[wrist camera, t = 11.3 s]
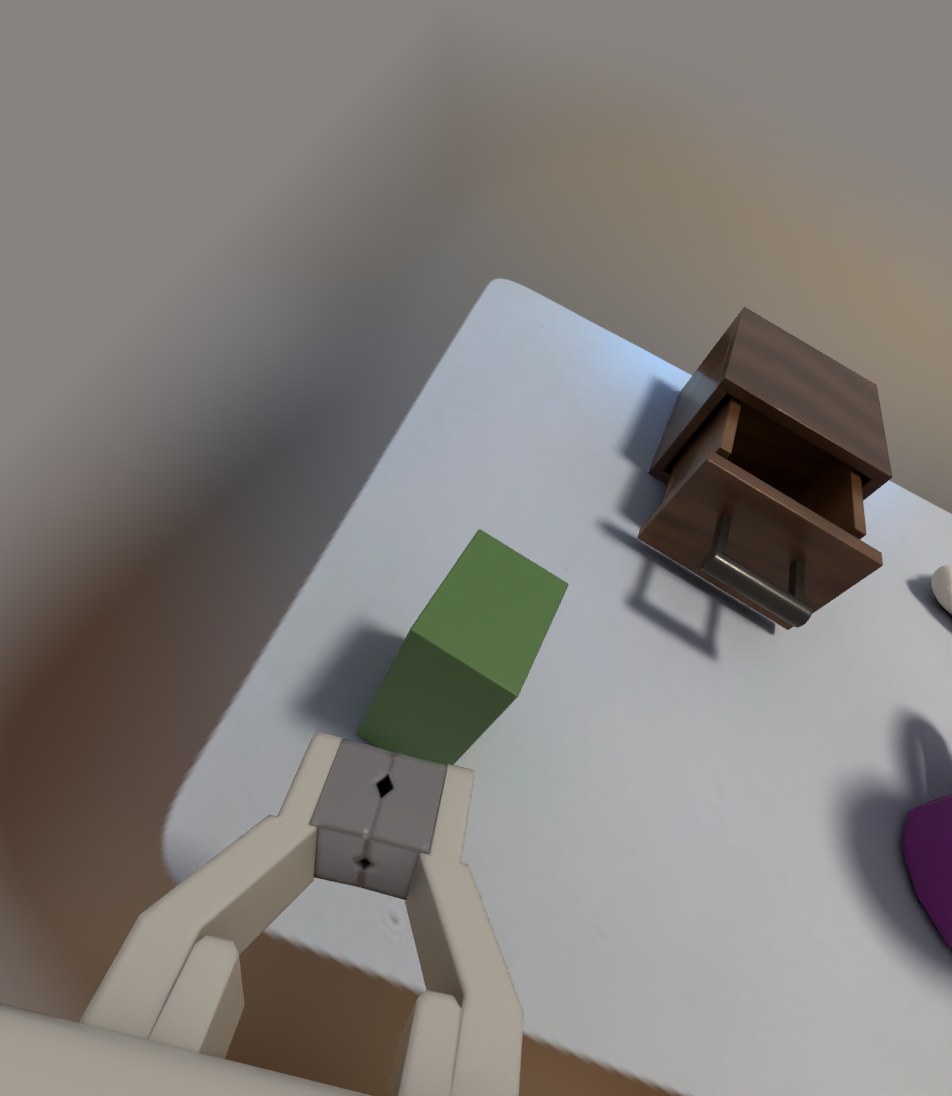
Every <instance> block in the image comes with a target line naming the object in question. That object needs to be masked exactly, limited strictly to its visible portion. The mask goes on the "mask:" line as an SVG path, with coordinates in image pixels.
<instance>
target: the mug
mask: <svg viewBox="0 0 952 1096" xmlns="http://www.w3.org/2000/svg"><path fill="white" fill-rule="evenodd" d="M902 848H903V852H904V855H905V858H906V862H907V865H908V868H909V872H910V875H911V878H912V882H913V885H914V889H915V892H916V895H917V896H918V898H919V900H920V901H921V903H922V905H923V906H924V908H925V909H926V911H927V913H928V914H929V916H930V917H931V919H932V921H933V922H934V924H935V926H936V927H937V929H938V930H939V932H940V934H941V935H942V937H943V939H944V940H945V942H946V943H947V945H948V946H949V947H950V948H951V949H952V794H951V795H948V796H945V797H942V798H938V799H935V800H933V801H930V802H928V803H926V804H923V805H921V806H919V807H916V808H914V809H912V810H910V811H909V812H908V815H907V820H906V826H905V831H904V837H903V843H902Z"/></svg>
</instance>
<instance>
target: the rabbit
mask: <svg viewBox="0 0 952 1096" xmlns="http://www.w3.org/2000/svg"><path fill="white" fill-rule="evenodd" d="M931 585H932V589H933V592H934V594H935V596H936V598H937V600H938V602H939V603H940V604H941V605H942V606H943V608H945V609H946V610H947V611H948V612H949V613H950V614H951V615H952V566H949V565H946V566H942V567H940V568H939V569H937V570H936V571H935V572H934V574H933V575H932V578H931Z"/></svg>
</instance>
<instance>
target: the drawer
mask: <svg viewBox="0 0 952 1096" xmlns="http://www.w3.org/2000/svg"><path fill="white" fill-rule="evenodd" d="M865 535H866V526H865V516H864V506H863V496H862V485H861V475H860V472H859V471H858V470H856V469H854V468H853V467H851V466H849V465H847V464H846V463H844V462H842V461H841V460H839V459H837V458H836V457H834V456H832V455H831V454H829V453H827V452H826V451H824V450H822V449H821V448H819V447H817V446H816V445H814V444H812V443H811V442H809V441H807V440H806V439H804V438H802V437H801V436H799V435H797V434H796V433H794V432H792V431H791V430H789V429H787V428H786V427H784V426H782V425H781V424H779V423H777V422H776V421H774V420H772V419H771V418H769V417H767V416H765V415H764V414H762V413H760V412H759V411H757V410H755V409H754V408H752V407H750V406H749V405H747V404H745V403H744V402H742V401H740V400H739V399H737V398H735V397H734V396H732V395H730V394H729V393H727V394H726V395H725V397H724V398H723V399H722V400H721V401H720V403H719V404H718V405H717V406H716V407H715V409H714V410H713V411H712V412H711V414H710V415H709V416H708V417H707V418H706V420H705V421H704V422H703V423H702V424H701V426H700V427H699V428H698V429H697V430H696V432H695V433H694V434H693V435H692V437H691V438H690V439H689V440H688V441H687V443H686V444H685V445H684V446H683V447H682V449H681V450H680V451H679V452H678V455H677V458H676V461H675V464H674V467H673V470H672V473H671V476H670V479H669V482H668V485H667V488H666V491H665V494H664V497H663V500H662V503H661V505H660V506H659V507H658V508H657V510H656V511H655V512H654V513H653V514H652V515H651V516H650V518H649V519H648V520H647V521H646V522H645V523H644V524H643V526H642V527H641V529H640V531H639V534H638V537H637V538H638V539H640V540H642V541H643V542H645V543H646V544H648V545H650V546H651V547H653V548H655V549H656V550H658V551H660V552H661V553H663V554H664V555H666V556H668V557H669V558H671V559H673V560H674V561H676V562H678V563H679V564H681V565H682V566H684V567H686V568H687V569H689V570H691V571H692V572H694V573H695V574H697V575H699V576H700V577H702V578H704V579H705V580H707V581H709V582H710V583H712V584H713V585H715V586H717V587H718V588H720V589H722V590H723V591H725V592H727V593H728V594H730V595H731V596H733V597H735V598H736V599H738V600H740V601H741V602H743V603H745V604H746V605H748V606H749V607H751V608H753V609H754V610H756V611H758V612H759V613H761V614H763V615H764V616H766V617H767V618H769V619H771V620H772V621H774V622H776V623H777V624H779V625H781V626H782V627H784V628H785V629H787V630H789V629H790V628H792V627H793V626H794V627H800V626H802V625H804V624H805V623H806V622H807V621H808V620H809V618H810V616H811V614H812V613H814V612H815V611H817V610H818V609H820V608H821V607H823V606H824V605H826V604H827V603H829V602H830V601H831V600H833V599H834V598H836V597H837V596H839V595H840V594H842V593H843V592H845V591H846V590H848V589H849V588H850V587H852V586H853V585H855V584H856V583H858V582H859V581H861V580H862V579H864V578H865V577H867V576H868V575H870V574H871V573H872V572H874V571H875V570H877V569H878V568H880V567H881V566H882V565H883V562H882V554H881V552H879V551H878V550H876V549H874V548H873V547H871V546H869V545H868V544H866V543H864V542H863V541H861V540H860V539H861V538H862V537H864V536H865Z"/></svg>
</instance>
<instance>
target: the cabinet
mask: <svg viewBox="0 0 952 1096" xmlns="http://www.w3.org/2000/svg"><path fill="white" fill-rule="evenodd" d="M727 393H729V394H730V395H732V396H734V397H735V398H737V399H739V400H740V401H742V402H744V403H745V404H747V405H749V406H750V407H752V408H754V409H755V410H757V411H759V412H760V413H762V414H764V415H765V416H767V417H769V418H771V419H772V420H774V421H776V422H777V423H779V424H781V425H782V426H784V427H786V428H787V429H789V430H791V431H792V432H794V433H796V434H797V435H799V436H801V437H802V438H804V439H806V440H807V441H809V442H811V443H812V444H814V445H816V446H817V447H819V448H821V449H822V450H824V451H826V452H827V453H829V454H831V455H832V456H834V457H836V458H837V459H839V460H841V461H842V462H844V463H846V464H847V465H849V466H851V467H853V468H854V469H856V470H858V471H859V472H860V475H861V485H862V496H863V500H865V499H866V498H867V497H868V496H870V495H871V494H872V493H873V492H875V491H876V490H877V489H878V488H880V487H881V486H882V485H883V484H885V483H886V482H887V481H888V480H890V479H891V478H892V472H891V467H890V460H889V455H888V450H887V443H886V437H885V431H884V425H883V420H882V414H881V408H880V402H879V396H878V390H877V385H876V384H874V383H872V382H871V381H869V380H867V379H865V378H864V377H862V376H860V375H859V374H857V373H855V372H853V371H852V370H850V369H848V368H847V367H845V366H843V365H842V364H840V363H838V362H837V361H835V360H833V359H832V358H830V357H828V356H827V355H825V354H823V353H821V352H820V351H818V350H816V349H815V348H813V347H811V346H810V345H808V344H806V343H804V342H803V341H801V340H799V339H798V338H796V337H794V336H793V335H791V334H789V333H788V332H786V331H784V330H782V329H781V328H779V327H778V326H776V325H774V324H772V323H771V322H769V321H767V320H766V319H764V318H762V317H761V316H759V315H757V314H756V313H754V312H752V311H750V310H749V309H747V308H745V307H744V308H743V309H742V310H741V312H740V313H739V314H738V316H737V317H736V318H735V320H734V321H733V322H732V324H731V325H730V326H729V328H728V329H727V330H726V332H725V333H724V335H723V336H722V337H721V338H720V340H719V341H718V342H717V344H716V345H715V346H714V348H713V349H712V350H711V352H710V353H709V354H708V356H707V357H706V358H705V360H704V361H703V363H702V364H701V365H700V366H699V368H698V369H697V370H696V372H695V373H694V374H693V376H692V377H691V378H690V380H689V381H688V382H687V384H686V385H685V387H684V388H683V389H682V390H681V392H680V393H679V395H678V398H677V401H676V403H675V406H674V408H673V411H672V413H671V416H670V419H669V421H668V424H667V426H666V429H665V432H664V434H663V437H662V439H661V442H660V444H659V447H658V450H657V452H656V455H655V457H654V460H653V463H652V465H651V468H650V470H649V474H651V475H653V476H654V477H656V478H658V479H659V480H661V481H662V482H664V483H666V484H667V485H668V482H669V479H670V476H671V473H672V470H673V467H674V464H675V461H676V458H677V455H678V452H679V451H680V450H681V449H682V447H683V446H684V445H685V444H686V443H687V441H688V440H689V439H690V438H691V437H692V435H693V434H694V433H695V432H696V430H697V429H698V428H699V427H700V426H701V424H702V423H703V422H704V421H705V420H706V418H707V417H708V416H709V415H710V414H711V412H712V411H713V410H714V409H715V407H716V406H717V405H718V404H719V403H720V401H721V400H722V399H723V398H724V397H725V395H726V394H727Z"/></svg>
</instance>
